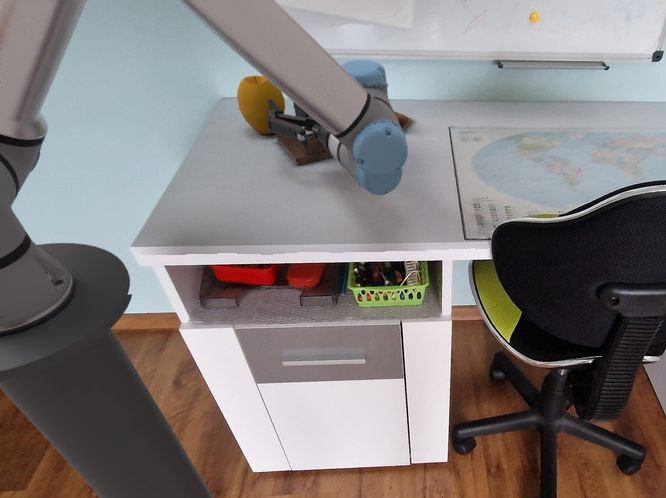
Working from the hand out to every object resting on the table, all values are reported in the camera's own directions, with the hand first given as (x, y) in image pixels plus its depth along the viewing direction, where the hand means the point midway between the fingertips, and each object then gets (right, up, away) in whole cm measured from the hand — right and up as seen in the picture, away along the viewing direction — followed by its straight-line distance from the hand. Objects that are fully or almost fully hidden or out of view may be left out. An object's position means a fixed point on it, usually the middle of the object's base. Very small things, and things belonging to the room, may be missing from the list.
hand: (303, 100), depth 109 cm
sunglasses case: (+11, +3, +17) cm, 20 cm away
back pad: (0, -6, +5) cm, 8 cm away
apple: (-12, -2, +12) cm, 16 cm away
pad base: (0, -7, +7) cm, 10 cm away
